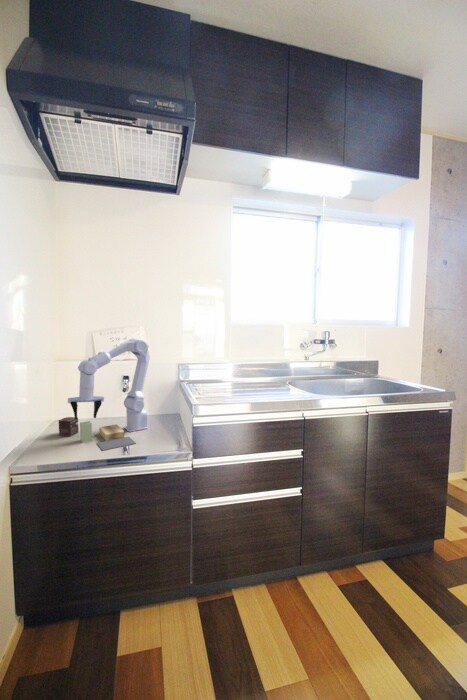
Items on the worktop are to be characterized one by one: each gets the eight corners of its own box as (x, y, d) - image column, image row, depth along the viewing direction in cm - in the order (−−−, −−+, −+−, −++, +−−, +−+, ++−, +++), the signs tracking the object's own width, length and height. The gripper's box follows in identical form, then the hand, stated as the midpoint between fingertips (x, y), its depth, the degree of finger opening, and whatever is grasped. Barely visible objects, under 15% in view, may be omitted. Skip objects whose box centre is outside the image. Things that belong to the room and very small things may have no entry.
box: (70, 436, 152) (69, 421, 152) (58, 435, 153) (58, 420, 153) (78, 432, 158) (78, 417, 157) (67, 431, 159) (67, 416, 159)
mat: (129, 437, 152) (129, 436, 152) (136, 443, 145) (136, 443, 145) (96, 443, 144) (96, 442, 144) (102, 450, 137) (102, 450, 137)
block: (90, 438, 151) (89, 421, 150) (92, 440, 148) (91, 423, 147) (80, 439, 149) (79, 422, 148) (82, 442, 145) (81, 424, 145)
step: (116, 430, 162) (116, 424, 161) (124, 437, 152) (124, 431, 151) (99, 433, 157) (99, 427, 157) (106, 441, 147) (105, 434, 147)
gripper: (69, 389, 139) (68, 421, 140) (105, 388, 147) (104, 419, 148) (67, 387, 145) (66, 417, 146) (102, 386, 153) (101, 415, 154)
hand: (85, 418), depth 147 cm, fingers open, 7 cm apart
